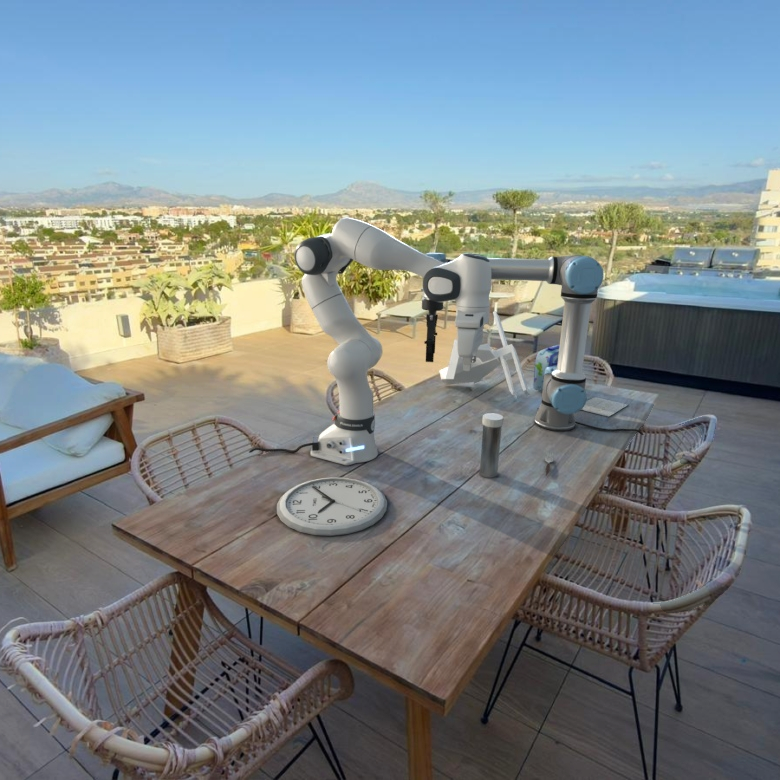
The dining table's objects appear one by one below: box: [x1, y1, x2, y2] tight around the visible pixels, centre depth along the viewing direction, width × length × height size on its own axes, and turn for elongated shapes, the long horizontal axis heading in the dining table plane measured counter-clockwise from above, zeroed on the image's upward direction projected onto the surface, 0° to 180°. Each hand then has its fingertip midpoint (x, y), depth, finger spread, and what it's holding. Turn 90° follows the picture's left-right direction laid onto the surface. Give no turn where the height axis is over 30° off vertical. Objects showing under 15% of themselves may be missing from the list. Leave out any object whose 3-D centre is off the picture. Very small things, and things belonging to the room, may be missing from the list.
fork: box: [544, 451, 555, 476], centre depth 168 cm, size 3×16×2 cm, turn 160°
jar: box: [479, 424, 503, 479], centre depth 160 cm, size 5×5×19 cm
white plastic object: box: [438, 310, 531, 400], centre depth 245 cm, size 37×45×31 cm
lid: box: [481, 412, 504, 428], centre depth 157 cm, size 6×6×2 cm
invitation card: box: [580, 396, 629, 418], centre depth 226 cm, size 21×1×15 cm
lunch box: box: [533, 344, 560, 392], centre depth 247 cm, size 26×11×21 cm, turn 134°
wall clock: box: [276, 476, 388, 537], centre depth 142 cm, size 30×2×30 cm
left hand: (469, 366), depth 144 cm, fingers open, 8 cm apart
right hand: (430, 357), depth 190 cm, fingers open, 13 cm apart
